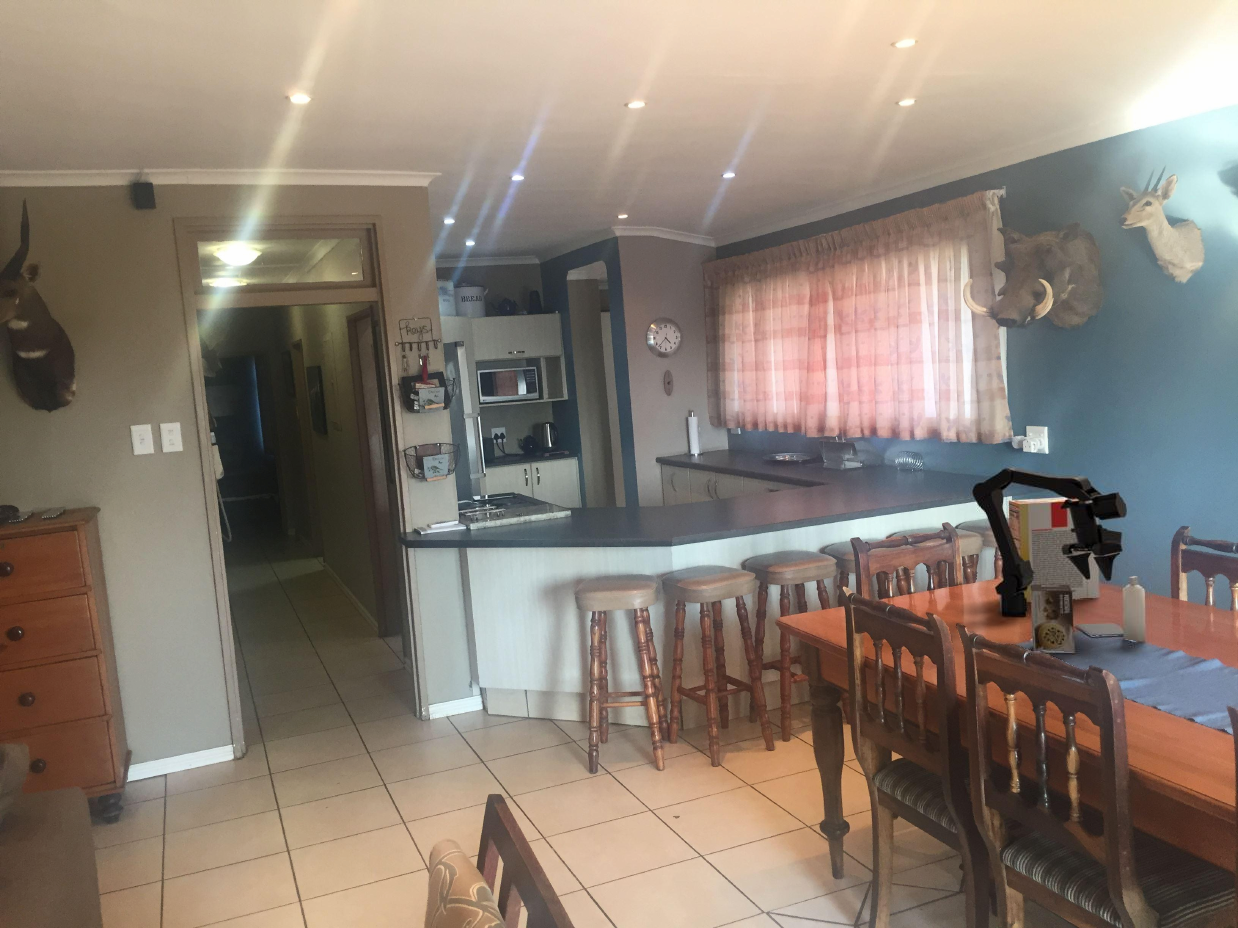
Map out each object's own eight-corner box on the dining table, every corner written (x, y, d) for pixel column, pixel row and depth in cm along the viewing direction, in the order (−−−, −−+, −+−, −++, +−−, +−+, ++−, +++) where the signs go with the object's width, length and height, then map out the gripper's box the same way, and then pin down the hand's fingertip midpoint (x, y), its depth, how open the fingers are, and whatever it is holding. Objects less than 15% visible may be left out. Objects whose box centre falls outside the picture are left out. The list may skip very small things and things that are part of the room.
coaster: (1091, 637, 233) (1091, 634, 233) (1075, 626, 243) (1075, 624, 243) (1131, 635, 232) (1131, 633, 232) (1113, 625, 242) (1113, 622, 242)
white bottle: (1119, 639, 230) (1118, 577, 228) (1130, 635, 232) (1129, 574, 231) (1138, 643, 226) (1137, 579, 224) (1149, 639, 228) (1148, 576, 227)
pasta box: (1086, 591, 278) (1084, 496, 276) (1099, 598, 270) (1097, 499, 268) (1011, 596, 279) (1008, 500, 277) (1021, 602, 271) (1019, 504, 269)
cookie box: (1071, 646, 226) (1069, 584, 225) (1075, 654, 220) (1073, 590, 219) (1031, 645, 229) (1029, 583, 228) (1034, 653, 223) (1032, 589, 222)
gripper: (1134, 515, 233) (1149, 575, 231) (1092, 517, 251) (1105, 572, 250) (1094, 524, 232) (1108, 583, 231) (1054, 525, 250) (1068, 580, 249)
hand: (1098, 579), depth 240 cm, fingers open, 9 cm apart
